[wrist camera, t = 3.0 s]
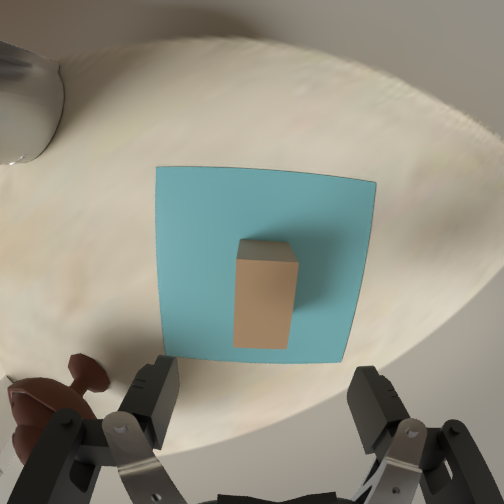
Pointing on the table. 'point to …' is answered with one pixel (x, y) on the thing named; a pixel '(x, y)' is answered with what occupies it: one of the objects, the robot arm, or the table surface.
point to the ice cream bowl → (51, 401)
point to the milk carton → (6, 427)
